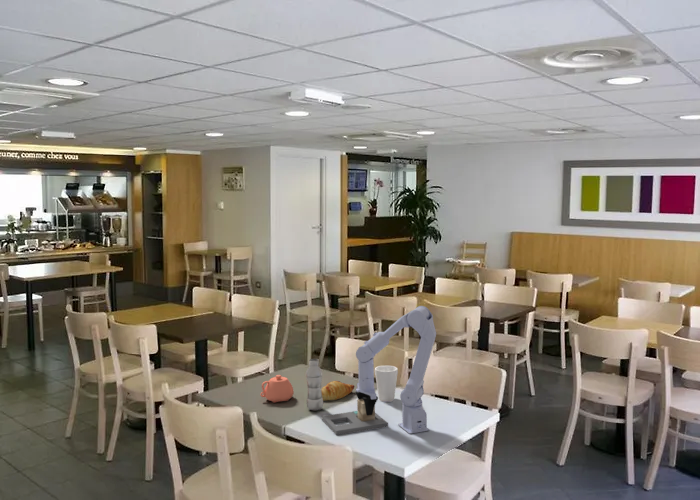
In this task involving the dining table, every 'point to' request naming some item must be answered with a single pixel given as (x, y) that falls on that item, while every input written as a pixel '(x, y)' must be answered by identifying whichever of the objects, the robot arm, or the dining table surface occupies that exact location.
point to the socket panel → (352, 423)
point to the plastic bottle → (314, 385)
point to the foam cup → (386, 382)
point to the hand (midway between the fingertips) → (366, 412)
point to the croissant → (336, 390)
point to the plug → (364, 411)
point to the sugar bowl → (277, 389)
